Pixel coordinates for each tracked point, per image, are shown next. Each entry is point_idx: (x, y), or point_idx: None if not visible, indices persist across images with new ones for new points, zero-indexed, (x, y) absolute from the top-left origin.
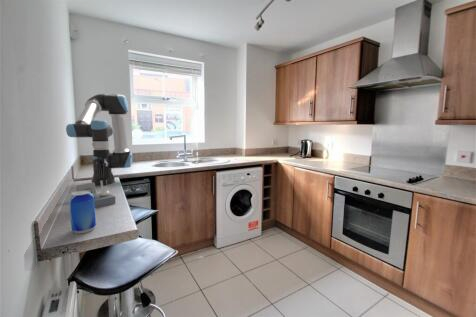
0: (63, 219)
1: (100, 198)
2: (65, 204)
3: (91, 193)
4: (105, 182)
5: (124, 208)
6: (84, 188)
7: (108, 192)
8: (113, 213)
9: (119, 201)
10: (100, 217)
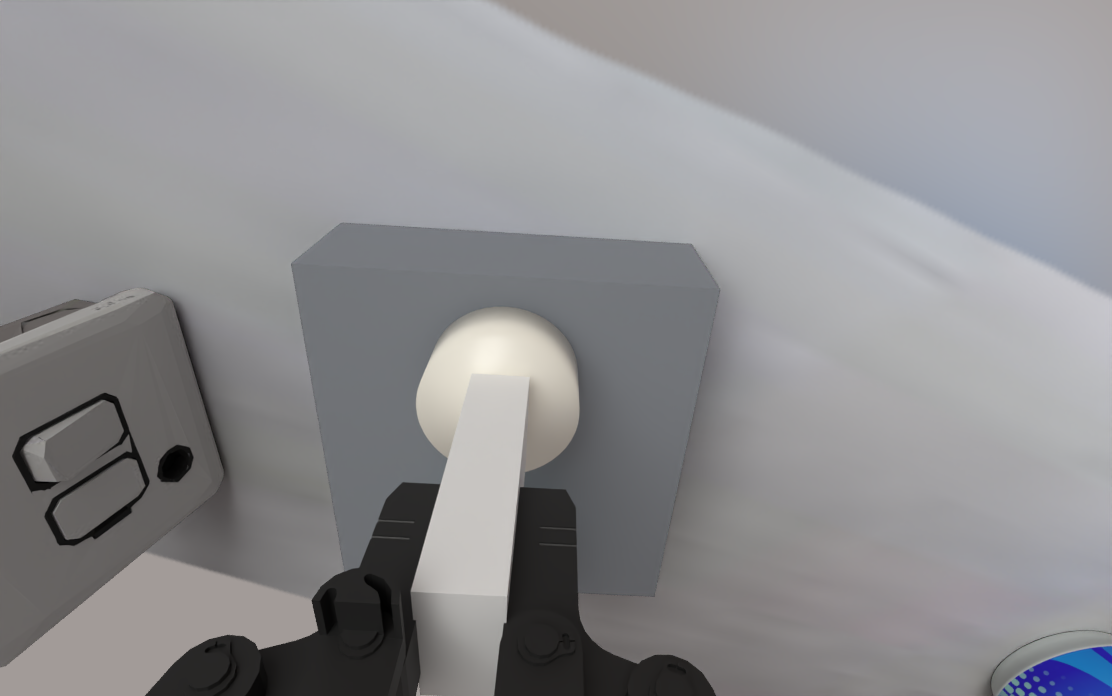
0: None
1: (620, 467)
2: (250, 579)
3: None
4: (572, 580)
5: (1017, 274)
6: (34, 536)
7: (561, 358)
8: (1012, 431)
9: (654, 153)
10: (965, 538)
